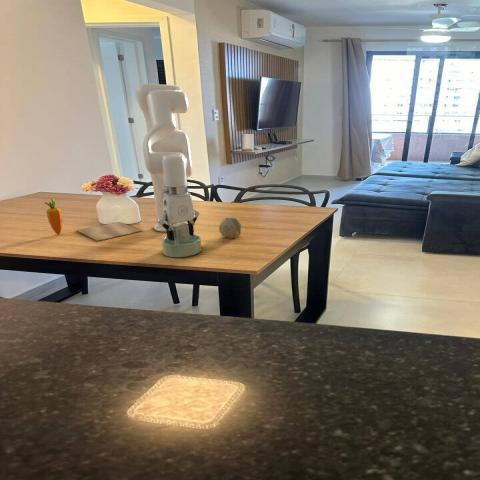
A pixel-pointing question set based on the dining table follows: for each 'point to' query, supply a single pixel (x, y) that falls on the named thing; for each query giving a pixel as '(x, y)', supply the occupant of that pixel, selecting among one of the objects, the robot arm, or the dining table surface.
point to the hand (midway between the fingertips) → (181, 237)
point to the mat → (108, 231)
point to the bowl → (181, 247)
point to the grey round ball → (230, 227)
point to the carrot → (54, 217)
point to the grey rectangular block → (181, 234)
